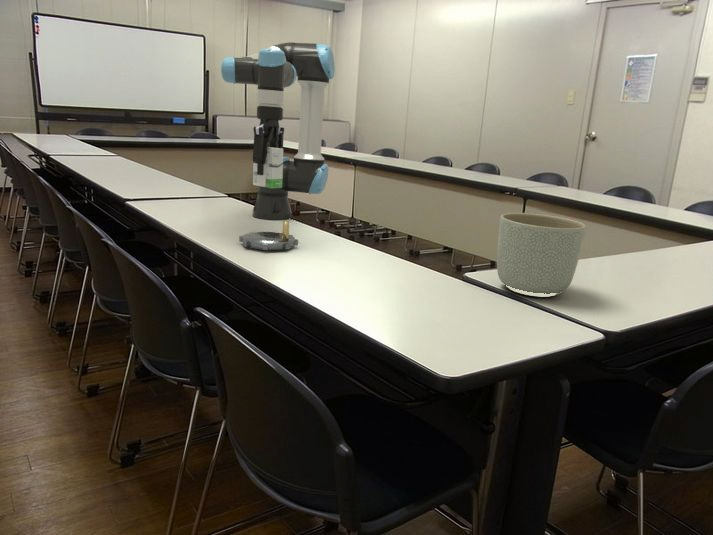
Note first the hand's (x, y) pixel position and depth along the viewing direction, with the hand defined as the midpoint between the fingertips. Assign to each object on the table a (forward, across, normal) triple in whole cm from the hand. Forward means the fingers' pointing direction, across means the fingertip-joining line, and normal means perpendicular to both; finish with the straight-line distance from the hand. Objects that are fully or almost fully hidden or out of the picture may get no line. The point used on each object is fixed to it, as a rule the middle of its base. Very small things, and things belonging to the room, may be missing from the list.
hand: (267, 184), depth 173 cm
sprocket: (+19, 0, +1) cm, 19 cm away
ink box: (+1, 0, 0) cm, 1 cm away
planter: (+19, -1, +80) cm, 82 cm away
